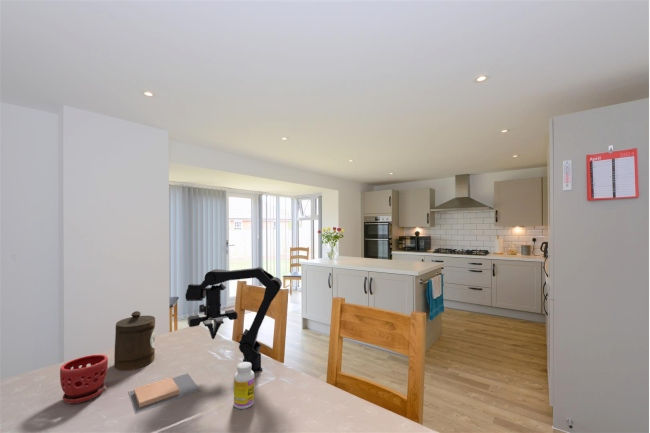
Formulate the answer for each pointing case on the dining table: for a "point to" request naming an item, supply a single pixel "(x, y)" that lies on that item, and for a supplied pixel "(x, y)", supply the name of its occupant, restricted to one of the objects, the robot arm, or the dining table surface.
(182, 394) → the mat
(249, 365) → the supplement bottle
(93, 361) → the plant pot
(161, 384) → the tile
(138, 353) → the wooden container
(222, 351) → the dining table surface
